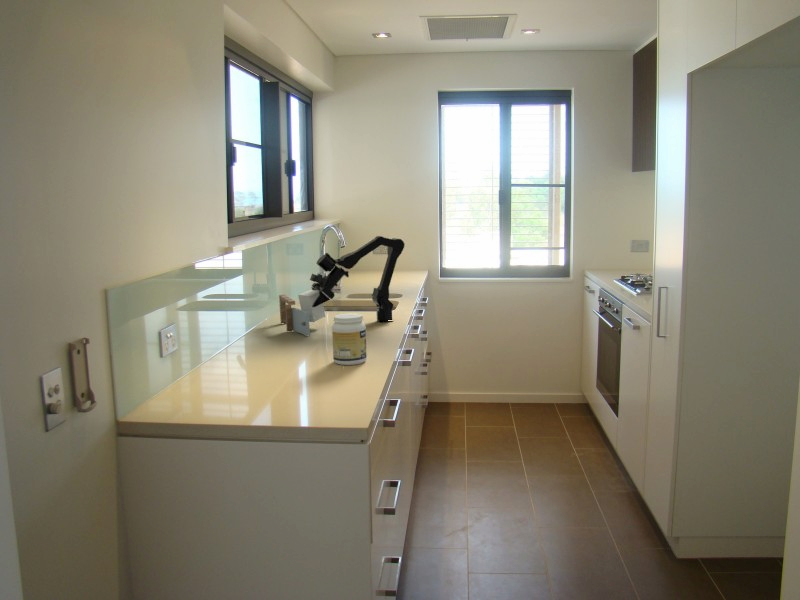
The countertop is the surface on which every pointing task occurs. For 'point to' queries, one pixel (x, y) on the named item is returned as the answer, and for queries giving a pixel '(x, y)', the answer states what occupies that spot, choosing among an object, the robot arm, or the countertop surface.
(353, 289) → the countertop surface
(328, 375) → the countertop surface
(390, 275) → the robot arm
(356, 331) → the supplement tub
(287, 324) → the door frame
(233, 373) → the countertop surface
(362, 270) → the countertop surface
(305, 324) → the door
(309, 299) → the supplement box
